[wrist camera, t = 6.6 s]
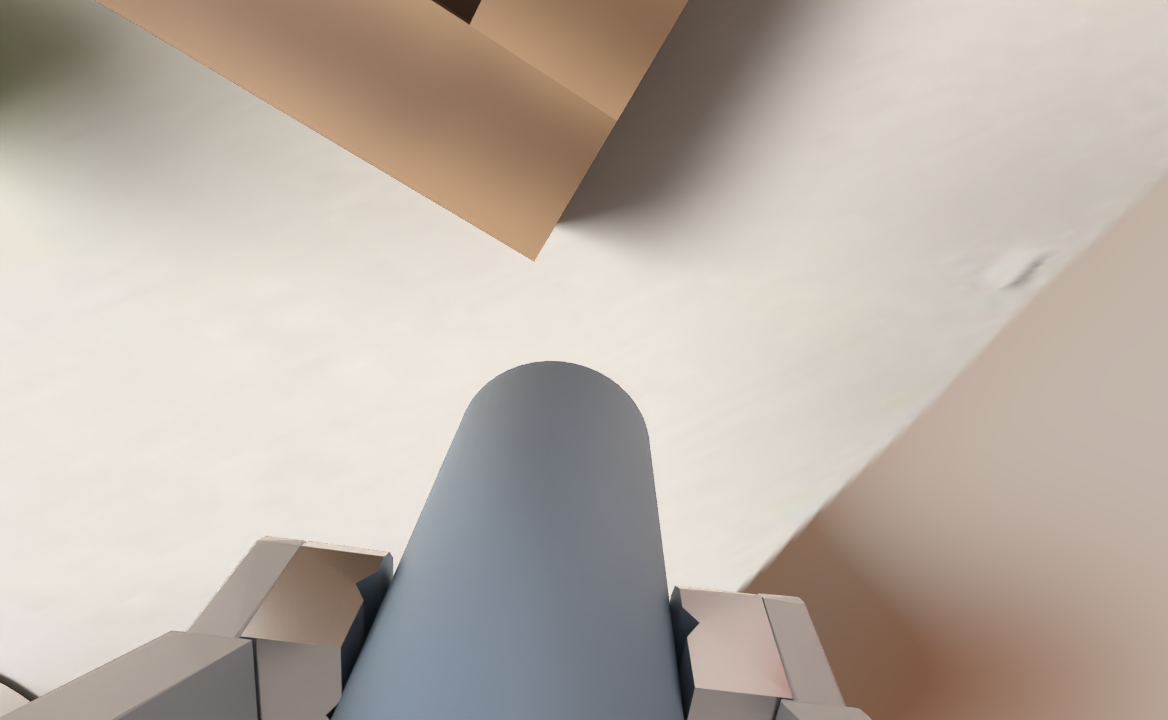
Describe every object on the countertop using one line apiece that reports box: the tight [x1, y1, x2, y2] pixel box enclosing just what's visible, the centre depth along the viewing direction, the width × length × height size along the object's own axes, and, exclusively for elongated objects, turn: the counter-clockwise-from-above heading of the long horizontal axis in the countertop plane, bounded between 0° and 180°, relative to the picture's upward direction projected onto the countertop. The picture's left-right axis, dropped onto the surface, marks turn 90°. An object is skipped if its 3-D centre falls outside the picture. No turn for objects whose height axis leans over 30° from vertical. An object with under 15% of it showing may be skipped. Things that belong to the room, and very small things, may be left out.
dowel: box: [331, 361, 684, 720], centre depth 7 cm, size 3×3×11 cm
